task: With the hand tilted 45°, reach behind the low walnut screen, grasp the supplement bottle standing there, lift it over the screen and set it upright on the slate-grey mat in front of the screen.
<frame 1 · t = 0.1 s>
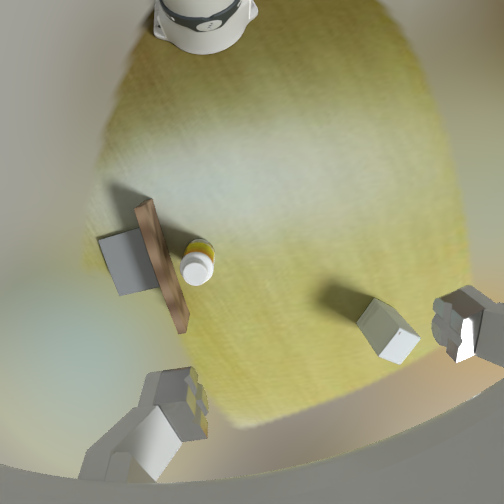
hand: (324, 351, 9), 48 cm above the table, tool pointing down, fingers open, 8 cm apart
supplement box: (375, 315, 67), on the table
grey mat: (129, 262, 58), on the table
supplement bottle: (200, 252, 59), on the table
walnut screen: (167, 260, 58), on the table
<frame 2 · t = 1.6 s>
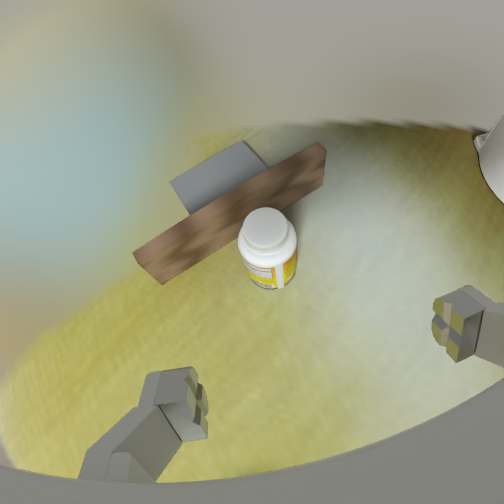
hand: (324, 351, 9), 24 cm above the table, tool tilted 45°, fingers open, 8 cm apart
grey mat: (222, 183, 42), on the table
supplement bottle: (272, 269, 37), on the table
walnut screen: (242, 228, 39), on the table
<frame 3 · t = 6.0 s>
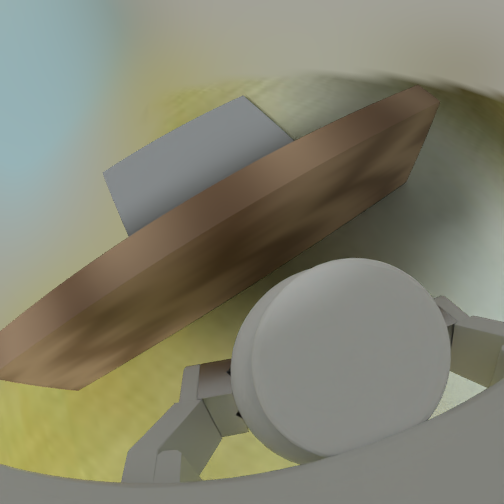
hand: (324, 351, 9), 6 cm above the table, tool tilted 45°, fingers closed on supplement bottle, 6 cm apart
grey mat: (202, 173, 20), on the table
supplement bottle: (313, 376, 15), on the table, touching gripper
walnut screen: (243, 274, 17), on the table
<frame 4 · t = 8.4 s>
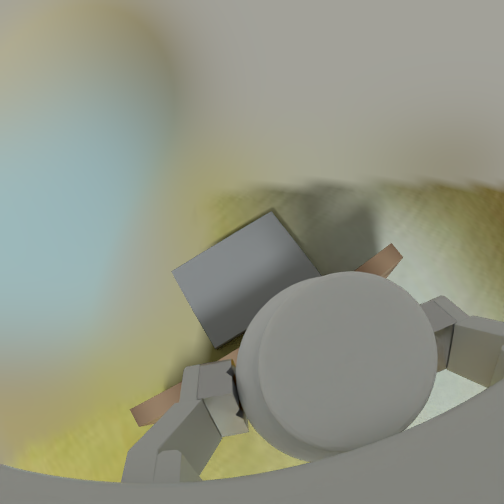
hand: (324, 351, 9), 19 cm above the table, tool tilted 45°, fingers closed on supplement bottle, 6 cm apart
grey mat: (245, 278, 31), on the table
supplement bottle: (310, 378, 15), point 12 cm above the table, touching gripper
walnut screen: (275, 350, 28), on the table
when the fingers open (12 cm above the table, at t = 11.0 s): supplement bottle drops 3 cm, resting on grey mat.
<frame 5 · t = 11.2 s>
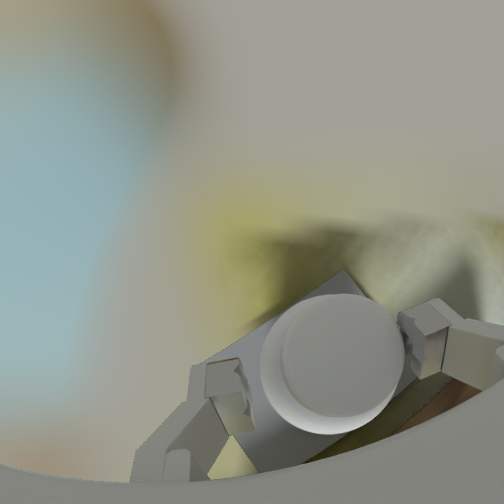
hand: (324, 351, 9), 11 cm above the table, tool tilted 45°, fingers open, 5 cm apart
grey mat: (309, 377, 19), on the table
supplement bottle: (310, 377, 18), point 1 cm above the table, touching grey mat, gripper
walnut screen: (351, 475, 16), on the table
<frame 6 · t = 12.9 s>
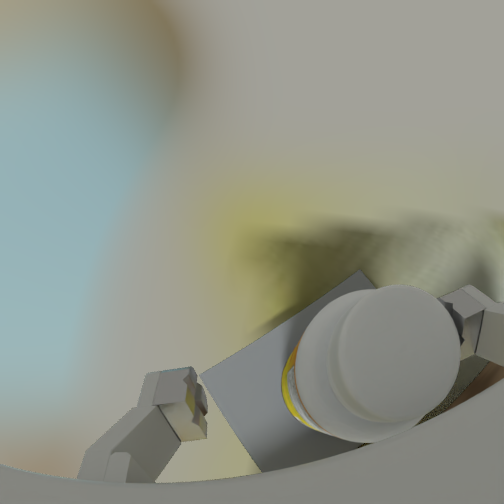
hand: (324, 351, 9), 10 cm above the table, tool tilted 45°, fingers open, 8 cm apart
grey mat: (324, 383, 17), on the table
supplement bottle: (326, 384, 17), point 1 cm above the table, touching grey mat, gripper
walnut screen: (367, 486, 14), on the table
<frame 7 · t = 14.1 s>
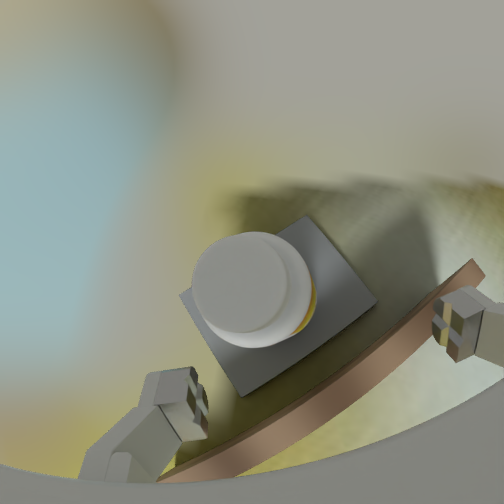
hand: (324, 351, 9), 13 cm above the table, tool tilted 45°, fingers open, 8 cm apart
grey mat: (277, 302, 24), on the table
supplement bottle: (277, 299, 22), point 1 cm above the table, touching grey mat
walnut screen: (319, 396, 20), on the table
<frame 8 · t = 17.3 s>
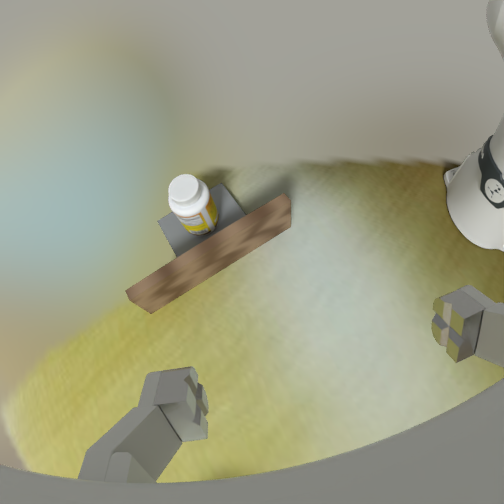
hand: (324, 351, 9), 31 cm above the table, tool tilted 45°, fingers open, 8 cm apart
grey mat: (203, 223, 48), on the table
supplement bottle: (202, 221, 48), point 1 cm above the table, touching grey mat
walnut screen: (218, 266, 45), on the table
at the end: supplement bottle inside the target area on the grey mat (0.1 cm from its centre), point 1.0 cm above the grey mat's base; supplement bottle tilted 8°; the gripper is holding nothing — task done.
